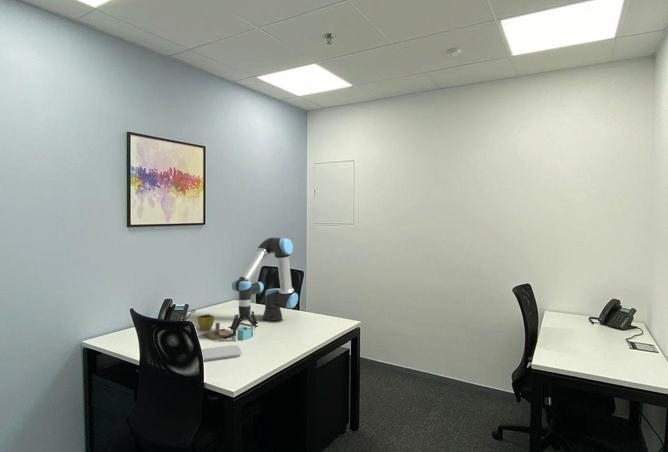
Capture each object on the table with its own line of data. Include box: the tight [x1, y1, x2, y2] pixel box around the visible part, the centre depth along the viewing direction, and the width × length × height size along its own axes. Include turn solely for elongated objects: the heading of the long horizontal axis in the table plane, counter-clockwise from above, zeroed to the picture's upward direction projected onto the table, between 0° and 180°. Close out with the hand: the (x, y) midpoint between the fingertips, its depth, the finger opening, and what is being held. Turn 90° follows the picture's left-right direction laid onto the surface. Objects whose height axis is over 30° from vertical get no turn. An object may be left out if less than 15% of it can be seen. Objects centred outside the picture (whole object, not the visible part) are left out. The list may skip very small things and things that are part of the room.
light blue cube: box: [237, 326, 252, 341], centre depth 249 cm, size 6×6×6 cm
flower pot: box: [197, 313, 215, 331], centre depth 266 cm, size 9×9×9 cm
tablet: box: [201, 344, 243, 363], centre depth 218 cm, size 16×26×2 cm, turn 115°
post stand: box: [200, 322, 234, 341], centre depth 254 cm, size 16×14×8 cm
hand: (244, 337), depth 249 cm, fingers open, 13 cm apart
